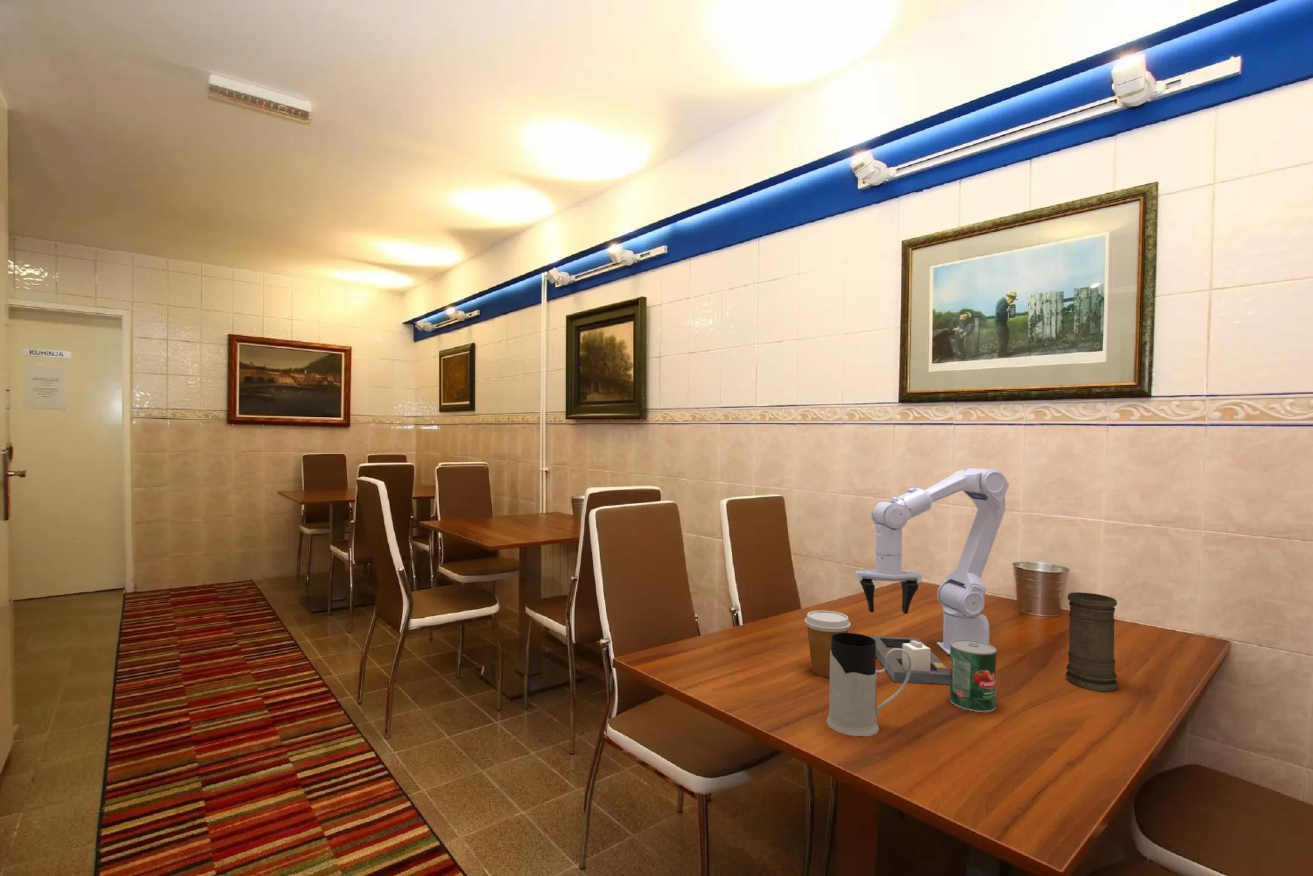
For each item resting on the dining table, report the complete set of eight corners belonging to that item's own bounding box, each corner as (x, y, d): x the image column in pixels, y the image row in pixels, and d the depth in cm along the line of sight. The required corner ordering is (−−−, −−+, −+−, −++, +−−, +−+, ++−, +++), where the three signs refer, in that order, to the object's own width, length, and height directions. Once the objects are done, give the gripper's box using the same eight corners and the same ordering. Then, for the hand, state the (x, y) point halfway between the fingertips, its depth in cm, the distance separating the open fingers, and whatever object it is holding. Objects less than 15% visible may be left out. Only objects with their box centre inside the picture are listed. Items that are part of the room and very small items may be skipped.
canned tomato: (994, 716, 113) (995, 656, 113) (946, 706, 117) (947, 648, 117) (997, 701, 120) (997, 644, 120) (952, 692, 124) (952, 636, 124)
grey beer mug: (822, 712, 114) (823, 630, 114) (902, 716, 112) (903, 634, 112) (831, 735, 105) (832, 646, 105) (918, 740, 104) (919, 650, 104)
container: (1102, 695, 123) (1104, 604, 123) (1056, 679, 131) (1057, 594, 131) (1127, 687, 127) (1128, 599, 127) (1080, 672, 135) (1081, 589, 135)
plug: (918, 670, 135) (918, 638, 135) (930, 676, 132) (930, 644, 132) (902, 671, 135) (902, 640, 135) (913, 678, 131) (913, 646, 131)
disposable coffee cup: (852, 667, 136) (853, 613, 136) (846, 683, 127) (847, 624, 127) (808, 660, 140) (809, 607, 140) (800, 675, 131) (800, 618, 132)
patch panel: (918, 646, 151) (918, 637, 151) (954, 685, 127) (954, 674, 127) (867, 643, 152) (867, 635, 152) (894, 681, 128) (894, 671, 128)
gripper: (915, 551, 148) (914, 608, 148) (853, 549, 150) (852, 606, 150) (925, 557, 141) (924, 616, 141) (859, 555, 143) (858, 614, 143)
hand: (887, 612), depth 145 cm, fingers open, 7 cm apart
